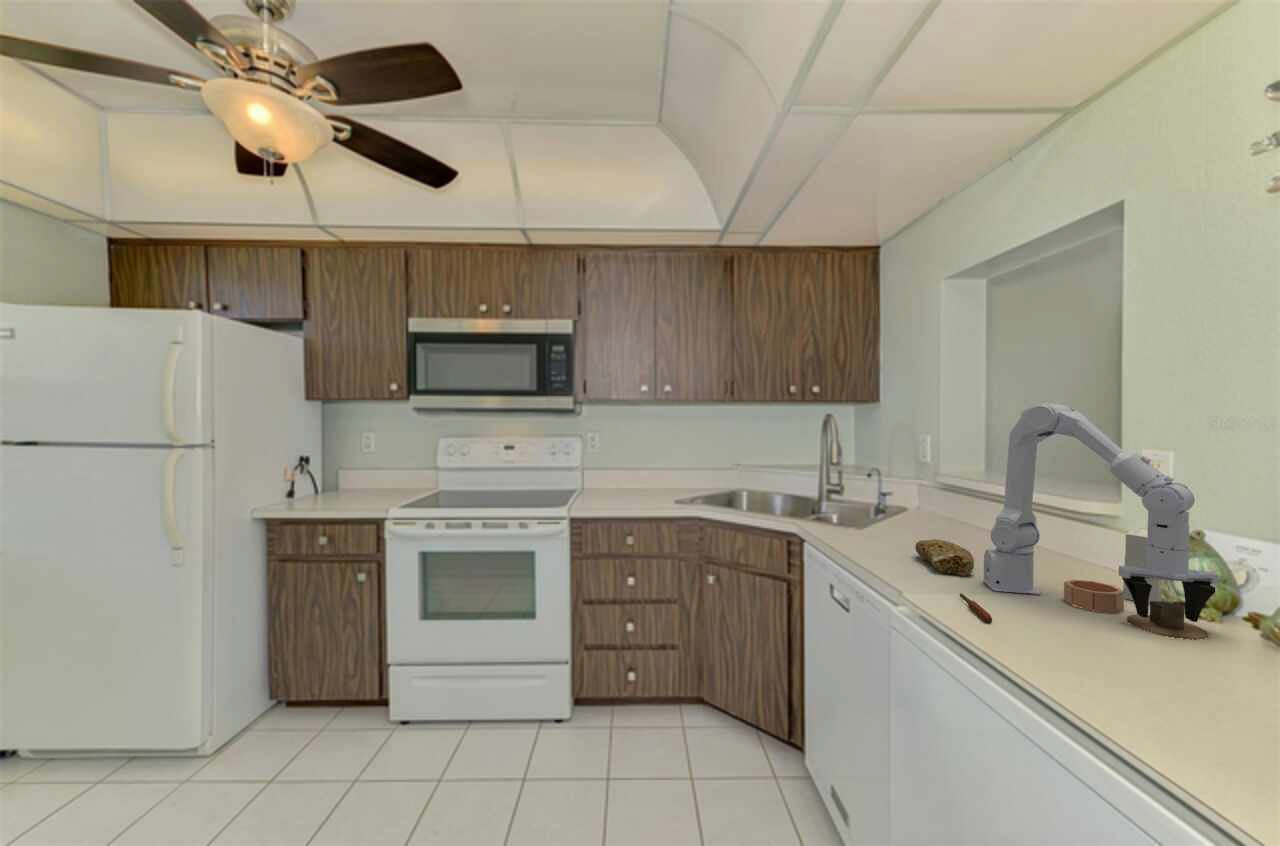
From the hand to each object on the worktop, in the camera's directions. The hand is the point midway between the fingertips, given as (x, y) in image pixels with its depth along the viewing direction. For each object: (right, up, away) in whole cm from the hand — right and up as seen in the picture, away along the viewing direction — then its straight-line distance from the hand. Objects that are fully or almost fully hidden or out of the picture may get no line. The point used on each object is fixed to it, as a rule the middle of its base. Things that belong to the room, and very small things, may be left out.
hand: (1166, 617), depth 104 cm
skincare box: (+11, -2, +17) cm, 20 cm away
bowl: (-4, -2, +13) cm, 13 cm away
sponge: (-19, -2, +43) cm, 47 cm away
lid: (0, -2, 0) cm, 2 cm away
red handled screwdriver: (-31, -2, +9) cm, 33 cm away
